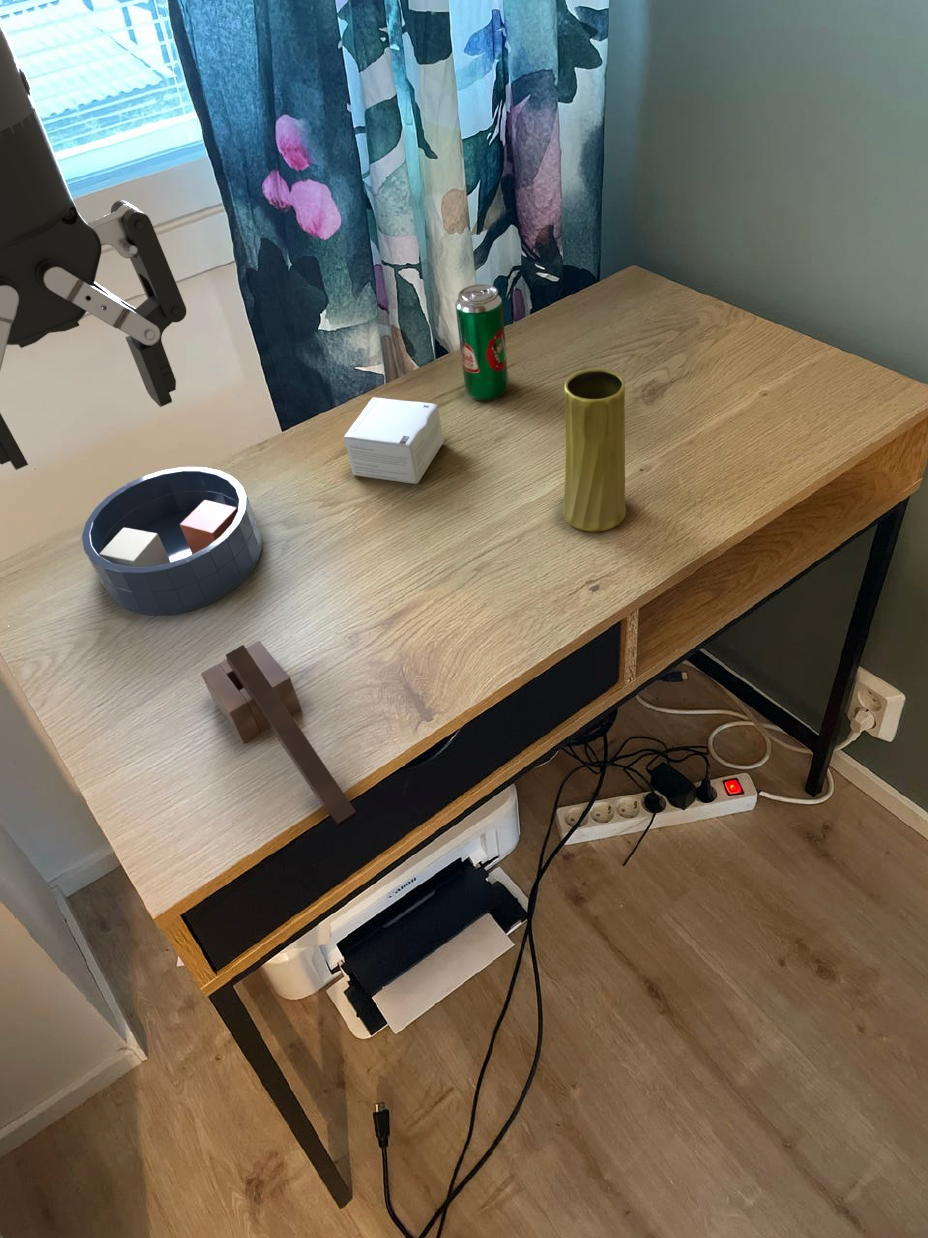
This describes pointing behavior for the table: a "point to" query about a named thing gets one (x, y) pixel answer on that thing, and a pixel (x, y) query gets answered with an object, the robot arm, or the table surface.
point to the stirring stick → (290, 736)
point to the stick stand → (237, 700)
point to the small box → (394, 440)
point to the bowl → (174, 541)
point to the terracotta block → (207, 524)
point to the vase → (595, 450)
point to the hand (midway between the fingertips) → (91, 430)
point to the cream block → (135, 549)
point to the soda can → (482, 341)
